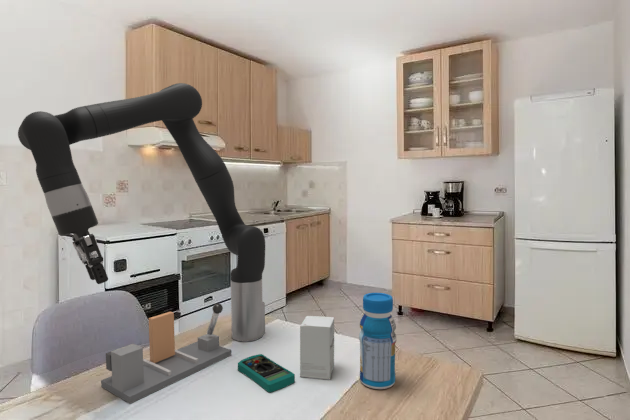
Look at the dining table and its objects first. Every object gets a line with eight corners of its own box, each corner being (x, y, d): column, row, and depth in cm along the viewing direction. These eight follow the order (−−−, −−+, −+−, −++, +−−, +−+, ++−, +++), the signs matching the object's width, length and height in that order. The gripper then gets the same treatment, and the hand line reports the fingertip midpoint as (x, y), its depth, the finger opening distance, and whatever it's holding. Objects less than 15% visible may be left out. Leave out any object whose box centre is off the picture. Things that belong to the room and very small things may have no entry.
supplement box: (330, 380, 91) (330, 327, 90) (299, 377, 93) (298, 325, 92) (335, 365, 99) (335, 316, 98) (306, 363, 100) (305, 314, 99)
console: (201, 344, 112) (201, 311, 111) (231, 355, 105) (230, 320, 104) (101, 386, 89) (99, 345, 88) (130, 403, 82) (128, 359, 81)
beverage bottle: (372, 394, 85) (372, 303, 84) (352, 376, 93) (352, 293, 91) (403, 385, 89) (404, 298, 87) (381, 369, 96) (382, 289, 95)
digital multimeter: (261, 362, 102) (261, 351, 102) (296, 384, 90) (296, 372, 90) (236, 371, 97) (235, 359, 97) (269, 395, 86) (269, 382, 86)
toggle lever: (210, 330, 107) (219, 300, 104) (215, 335, 106) (225, 306, 103) (202, 333, 105) (211, 302, 102) (208, 339, 104) (218, 308, 101)
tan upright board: (171, 353, 102) (170, 311, 101) (175, 354, 101) (173, 312, 100) (150, 361, 97) (148, 318, 96) (153, 363, 96) (152, 319, 95)
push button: (122, 362, 91) (121, 347, 91) (126, 365, 90) (125, 349, 90) (106, 368, 89) (105, 353, 88) (110, 371, 87) (110, 355, 87)
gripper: (96, 202, 79) (124, 276, 82) (86, 205, 90) (111, 270, 93) (53, 214, 75) (85, 292, 77) (48, 216, 86) (76, 284, 89)
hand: (99, 280), depth 85 cm, fingers open, 8 cm apart
